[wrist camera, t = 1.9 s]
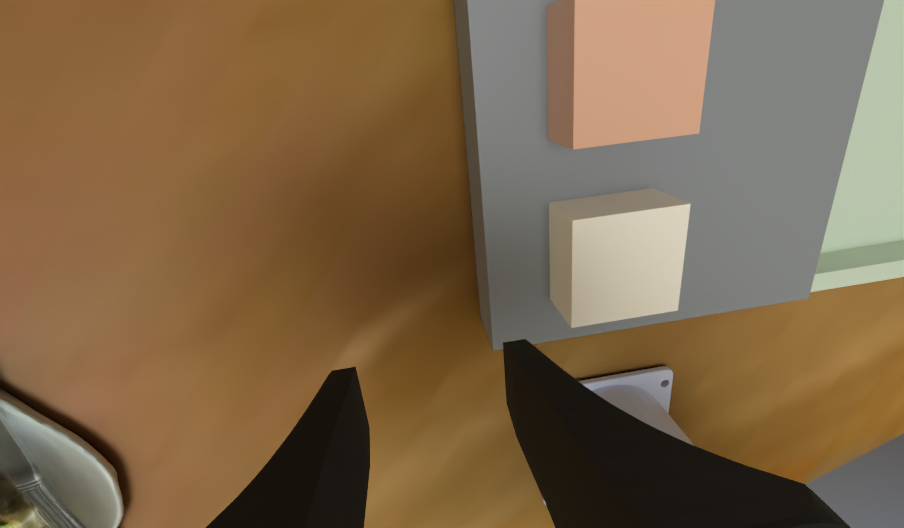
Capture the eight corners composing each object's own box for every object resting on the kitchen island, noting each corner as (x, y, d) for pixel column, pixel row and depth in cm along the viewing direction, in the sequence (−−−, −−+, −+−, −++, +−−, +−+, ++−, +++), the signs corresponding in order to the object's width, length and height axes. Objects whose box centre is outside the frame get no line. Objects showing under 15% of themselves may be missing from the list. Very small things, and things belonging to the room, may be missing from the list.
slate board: (761, 273, 25) (808, 298, 22) (480, 318, 23) (493, 350, 21) (831, -76, 18) (910, -103, 16) (449, -43, 17) (462, -66, 14)
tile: (644, 284, 20) (677, 310, 18) (550, 299, 20) (571, 328, 18) (653, 188, 18) (690, 203, 16) (548, 202, 18) (572, 220, 16)
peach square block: (658, 126, 17) (699, 133, 15) (548, 140, 17) (573, 149, 15) (669, -6, 16) (717, -20, 13) (546, 6, 15) (574, -6, 13)
